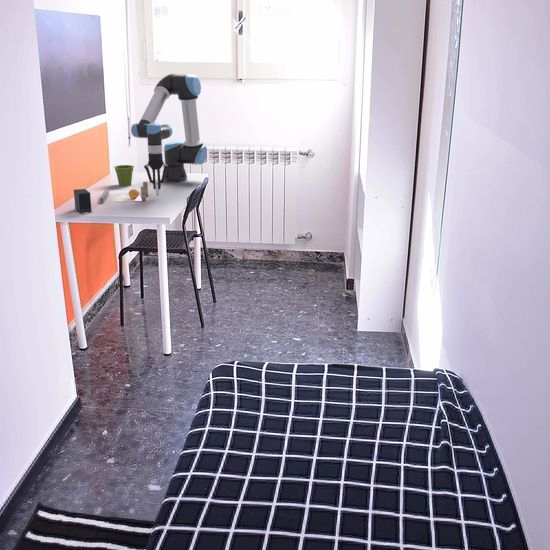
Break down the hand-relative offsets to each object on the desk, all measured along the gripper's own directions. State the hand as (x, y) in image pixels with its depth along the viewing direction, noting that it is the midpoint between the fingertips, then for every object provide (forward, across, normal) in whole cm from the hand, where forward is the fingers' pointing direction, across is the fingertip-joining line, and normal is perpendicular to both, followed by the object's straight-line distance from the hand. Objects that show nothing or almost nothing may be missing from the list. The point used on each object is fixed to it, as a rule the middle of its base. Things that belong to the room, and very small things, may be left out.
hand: (157, 195), depth 370 cm
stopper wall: (+2, -29, 0) cm, 29 cm away
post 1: (+2, -7, +6) cm, 10 cm away
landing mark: (+2, -15, 0) cm, 15 cm away
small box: (+2, -36, -25) cm, 44 cm away
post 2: (+2, -7, -6) cm, 10 cm away
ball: (-1, -13, 0) cm, 13 cm away
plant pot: (+2, -22, +35) cm, 41 cm away
